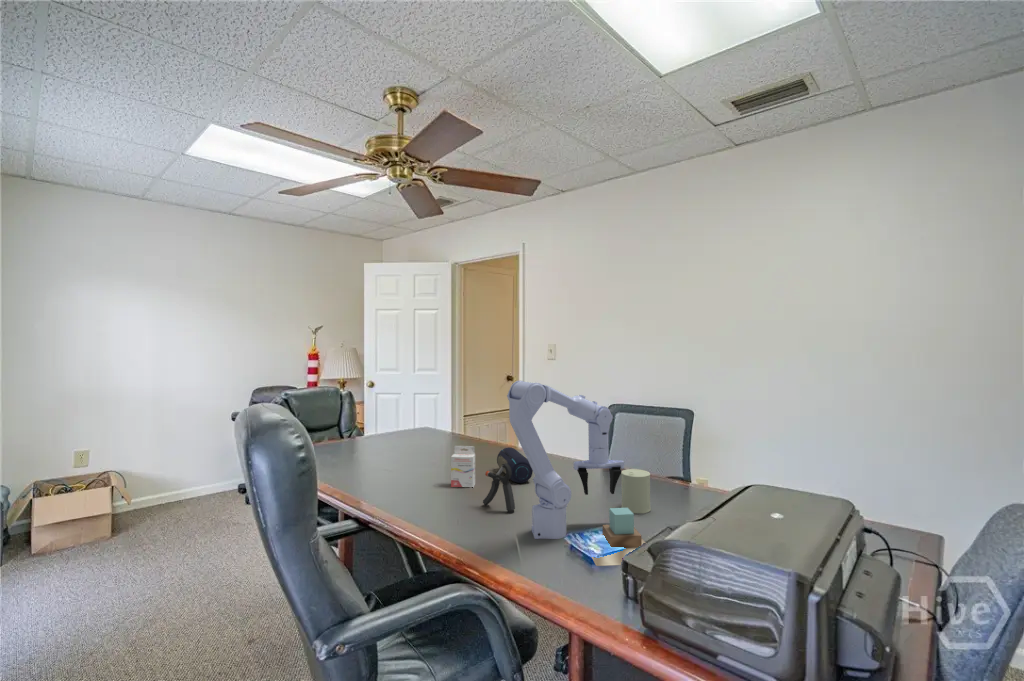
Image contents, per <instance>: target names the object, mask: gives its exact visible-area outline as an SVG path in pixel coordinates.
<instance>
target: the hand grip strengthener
mask: <svg viewBox="0 0 1024 681" xmlns="http://www.w3.org/2000/svg"><path fill="white" fill-rule="evenodd" d="M504 468H505V470H506V474H505V475H504V476H503V475H501V474H502V472H503V470H504ZM511 475H512V471H511V468H510V466H509V465H508V464H506V463H505V464H502V467H501V468H500V467H499V469H498V471H497V473H493V472H492V471H489V470H487V471H485V476H486V477H489V478H491V479H492V481H491V485H490V486H491V487H490V489H489V491H488V494H487V495H486V497H485V498H484V499H483V500H482V503H483V504H484V506H487V505H489V504H490V503H491V502H492V501H493V500H494V498H495V496H496V495H497V492H498V490H499V487H500V482H501V483H502V489H503V495H504V502H505V506H506V508H505V509H506V511H507V513H508V514H513V513H515V509H516V506H515V505H516V504H515V499H514V493H513V488H512V484H511V483H510V480H511V479H510V477H511Z"/></svg>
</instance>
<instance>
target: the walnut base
mask: <svg viewBox="0 0 1024 681" xmlns="http://www.w3.org/2000/svg"><path fill="white" fill-rule="evenodd" d="M601 527H602V535H604V536H605V538H606V540H607V541H608V543H609V544H610V546H611V547H624V548H637V547H639V546H641V545H642V539H643V538H642V535H641V533H640V532H639V531H638V530H637V528H636V527H635V526H634V534H614V532H613V531H612V530H611V528H610V527H609V524H602V526H601Z"/></svg>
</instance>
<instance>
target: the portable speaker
mask: <svg viewBox="0 0 1024 681" xmlns="http://www.w3.org/2000/svg"><path fill="white" fill-rule="evenodd" d="M496 463H497V466H498V468H499V469H500V468H501V467H502V464H505V463H506V464H508V465H509V466H510V468H511V471H512V475H511V477H510V479H509V480H511V481H512V482H514V483H517V484H523V483H526V482H528V481H529V480H530V479H531V478H532V476H533V474H534V472H533V470H532V468H531V466H530V464H529V461H528V459H527V457H526V456H524V455H523V454H522V453H520V452H519V451H518V450H517V449H515V448H514V447H505V448H502V449H501V450H500V451H499V452H498V454H497V456H496ZM502 472H503V473H504V474H505V475H506V470H505V468H504V470H503V471H502Z"/></svg>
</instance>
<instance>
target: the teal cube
mask: <svg viewBox="0 0 1024 681" xmlns="http://www.w3.org/2000/svg"><path fill="white" fill-rule="evenodd" d="M608 510H609V511H608V512H609V513H608V514H609V515H608V518H609V521H608V522H609V524H608V525H609V527H610V528H611V530H612V531H613V532H614V534H634V527H635V513H632V512H631V511H630V510H629V509H628V508H621V507H612V508H611V507H610V508H609V509H608Z"/></svg>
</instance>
